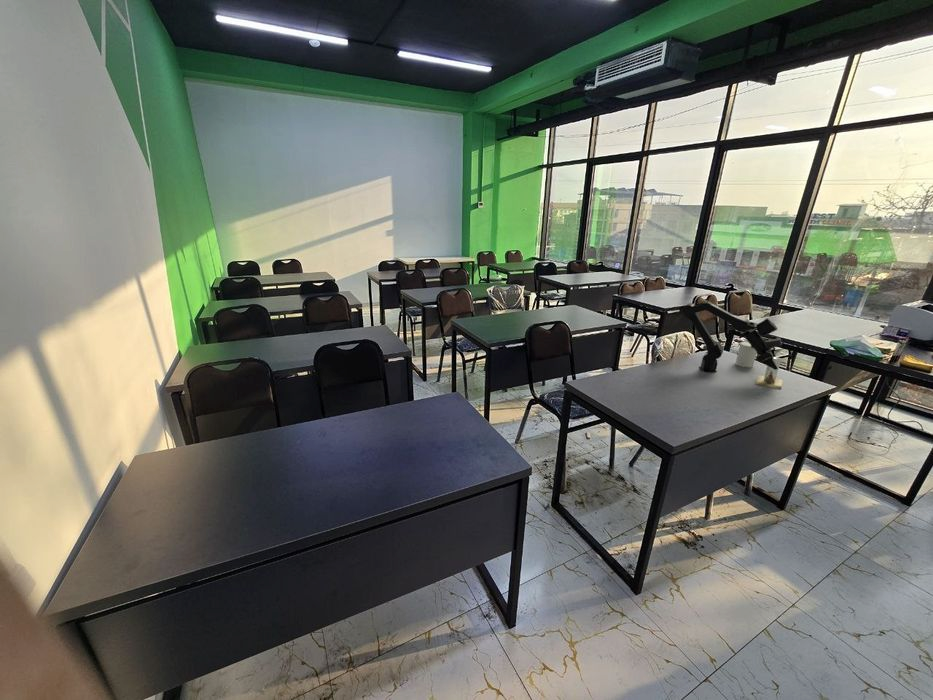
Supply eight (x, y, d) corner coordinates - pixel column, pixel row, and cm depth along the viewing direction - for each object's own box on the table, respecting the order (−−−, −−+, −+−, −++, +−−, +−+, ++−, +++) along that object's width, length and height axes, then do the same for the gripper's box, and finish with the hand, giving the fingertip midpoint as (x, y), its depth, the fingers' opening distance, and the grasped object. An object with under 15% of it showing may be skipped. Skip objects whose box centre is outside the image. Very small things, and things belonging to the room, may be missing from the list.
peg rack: (755, 383, 197) (758, 373, 195) (757, 377, 204) (760, 368, 202) (780, 389, 191) (783, 379, 189) (782, 382, 198) (784, 372, 196)
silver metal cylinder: (767, 382, 195) (773, 359, 191) (761, 378, 199) (767, 356, 195) (777, 382, 195) (783, 359, 191) (771, 378, 199) (777, 356, 195)
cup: (756, 367, 217) (761, 346, 213) (741, 367, 217) (746, 346, 213) (746, 362, 224) (751, 342, 220) (732, 361, 224) (737, 341, 220)
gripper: (771, 336, 184) (794, 363, 181) (774, 327, 198) (796, 353, 195) (747, 348, 191) (769, 375, 189) (751, 339, 205) (772, 364, 202)
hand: (777, 366), depth 193 cm, fingers open, 9 cm apart
